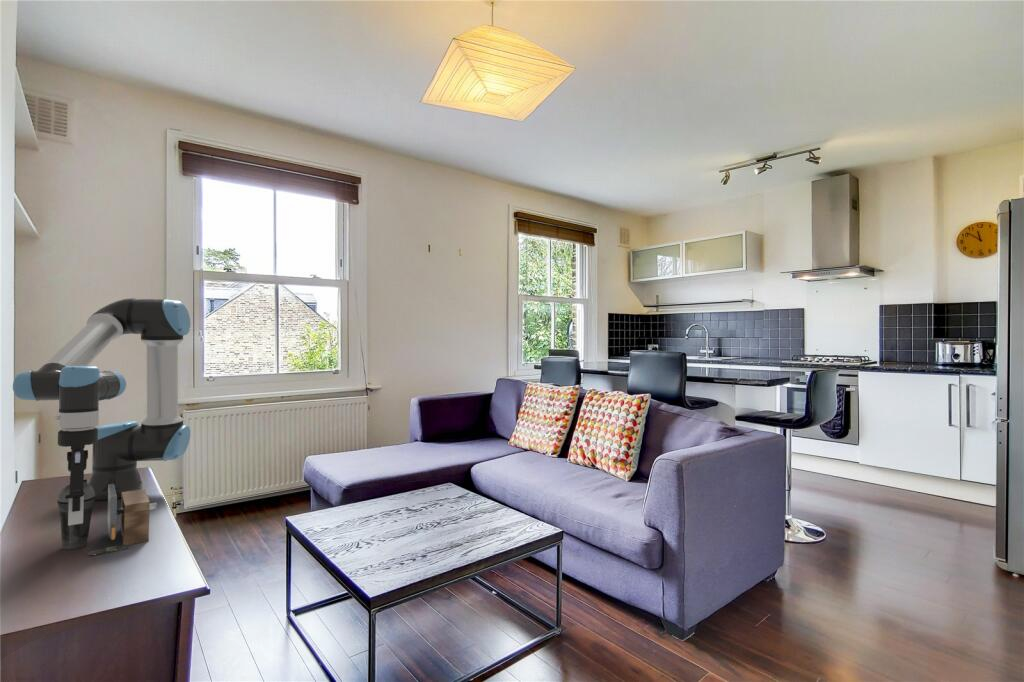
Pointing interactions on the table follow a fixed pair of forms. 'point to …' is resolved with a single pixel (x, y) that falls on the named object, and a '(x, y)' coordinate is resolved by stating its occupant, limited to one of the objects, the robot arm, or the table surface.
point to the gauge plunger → (116, 510)
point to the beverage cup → (79, 532)
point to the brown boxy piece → (132, 520)
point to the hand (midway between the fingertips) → (75, 517)
